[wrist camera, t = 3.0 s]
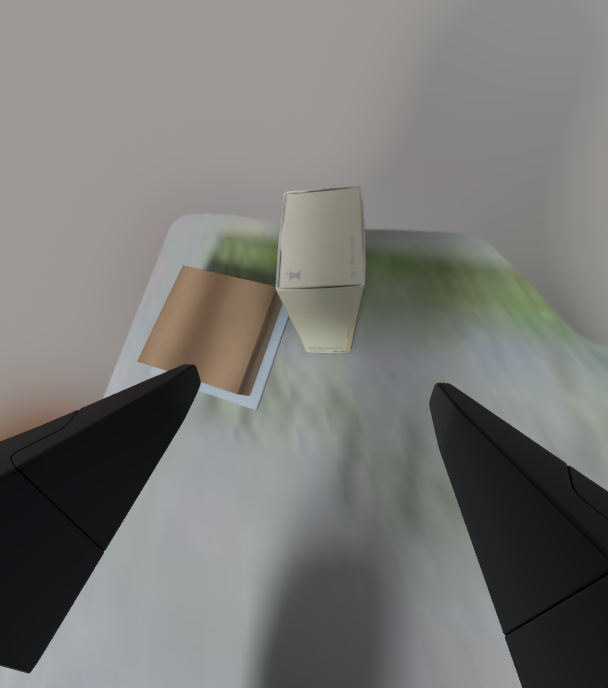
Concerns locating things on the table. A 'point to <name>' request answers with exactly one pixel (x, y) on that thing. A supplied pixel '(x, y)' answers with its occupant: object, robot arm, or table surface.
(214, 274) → the walnut plinth
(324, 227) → the skincare box
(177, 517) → the table surface
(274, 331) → the plan sheet
